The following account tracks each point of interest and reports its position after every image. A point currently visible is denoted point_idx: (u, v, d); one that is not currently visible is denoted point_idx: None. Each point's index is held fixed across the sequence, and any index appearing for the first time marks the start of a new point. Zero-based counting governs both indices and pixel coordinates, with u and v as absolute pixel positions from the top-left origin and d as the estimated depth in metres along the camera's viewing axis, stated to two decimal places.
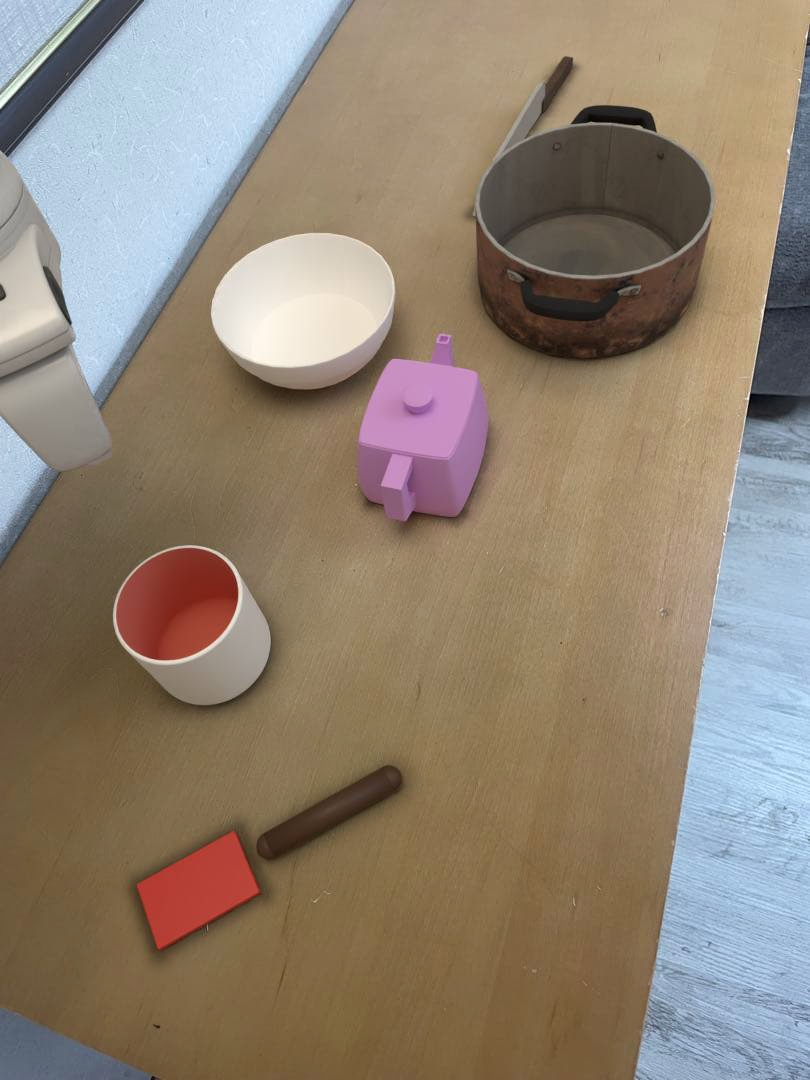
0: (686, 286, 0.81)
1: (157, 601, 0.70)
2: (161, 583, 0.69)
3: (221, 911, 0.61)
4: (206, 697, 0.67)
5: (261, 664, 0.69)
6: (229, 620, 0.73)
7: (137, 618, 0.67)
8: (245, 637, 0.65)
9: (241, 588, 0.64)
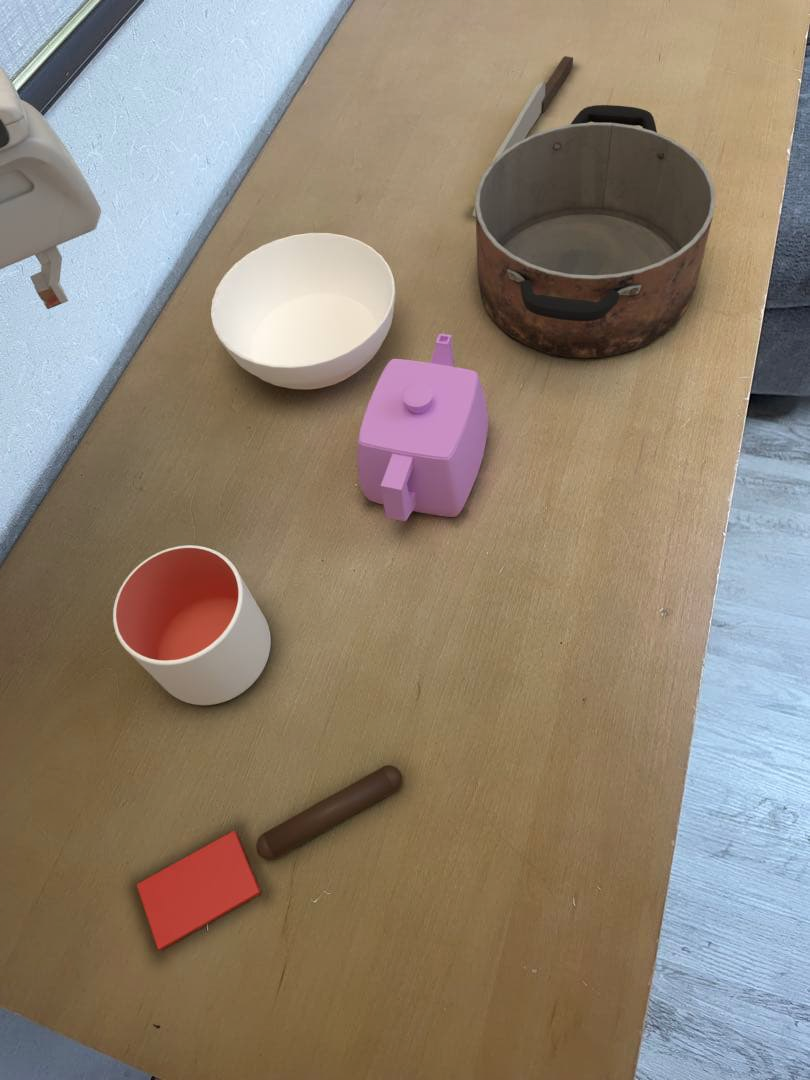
0: (686, 286, 0.80)
1: (157, 601, 0.70)
2: (161, 583, 0.69)
3: (221, 911, 0.61)
4: (206, 697, 0.67)
5: (261, 664, 0.69)
6: (229, 620, 0.73)
7: (137, 618, 0.67)
8: (245, 637, 0.65)
9: (241, 588, 0.64)
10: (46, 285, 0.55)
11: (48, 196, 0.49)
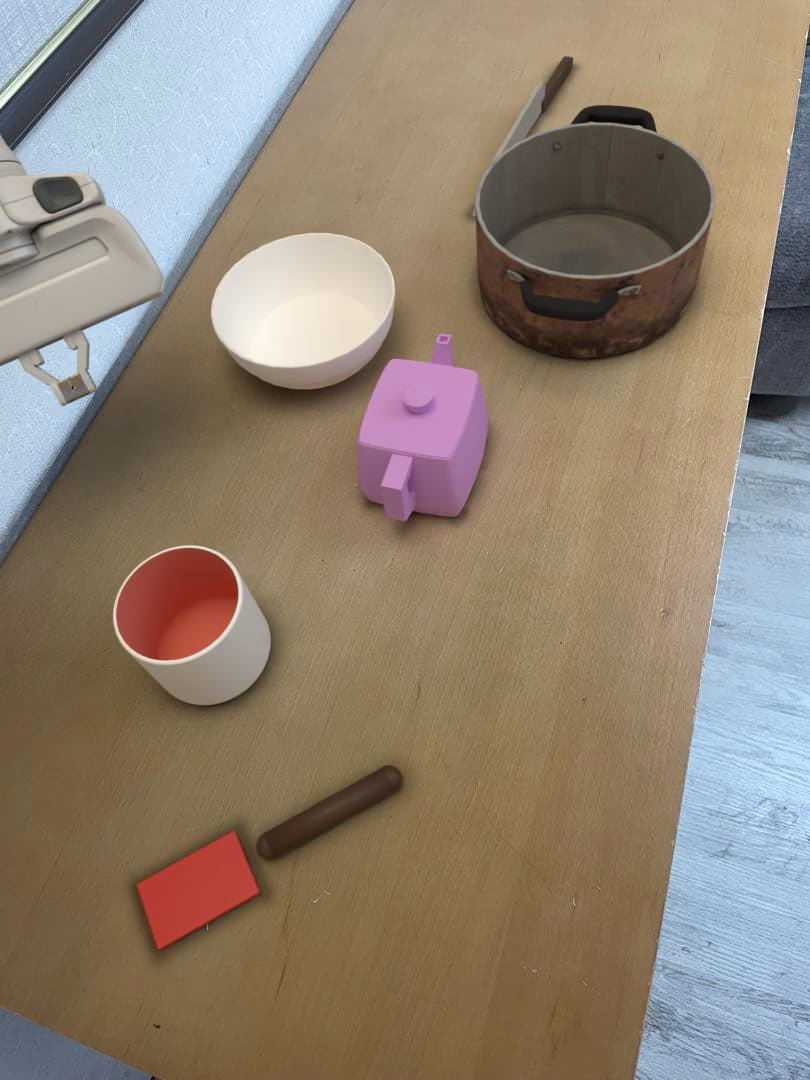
0: (686, 286, 0.80)
1: (157, 601, 0.70)
2: (161, 583, 0.69)
3: (221, 911, 0.61)
4: (206, 697, 0.67)
5: (261, 664, 0.69)
6: (229, 620, 0.73)
7: (137, 618, 0.67)
8: (245, 637, 0.65)
9: (241, 588, 0.64)
10: None
11: (119, 258, 0.64)
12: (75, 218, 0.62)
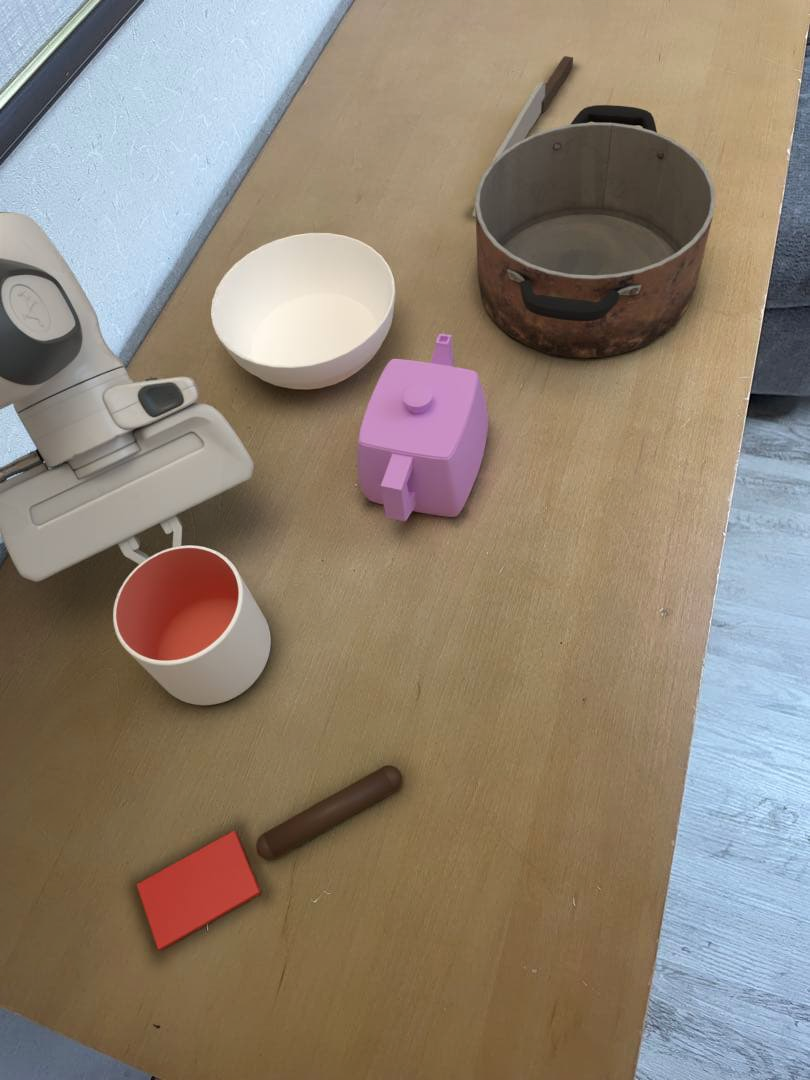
0: (686, 286, 0.80)
1: (157, 601, 0.70)
2: (161, 583, 0.69)
3: (221, 911, 0.61)
4: (206, 697, 0.67)
5: (261, 664, 0.69)
6: (229, 620, 0.73)
7: (137, 618, 0.67)
8: (245, 637, 0.65)
9: (241, 588, 0.64)
10: None
11: (214, 450, 0.68)
12: (175, 418, 0.66)
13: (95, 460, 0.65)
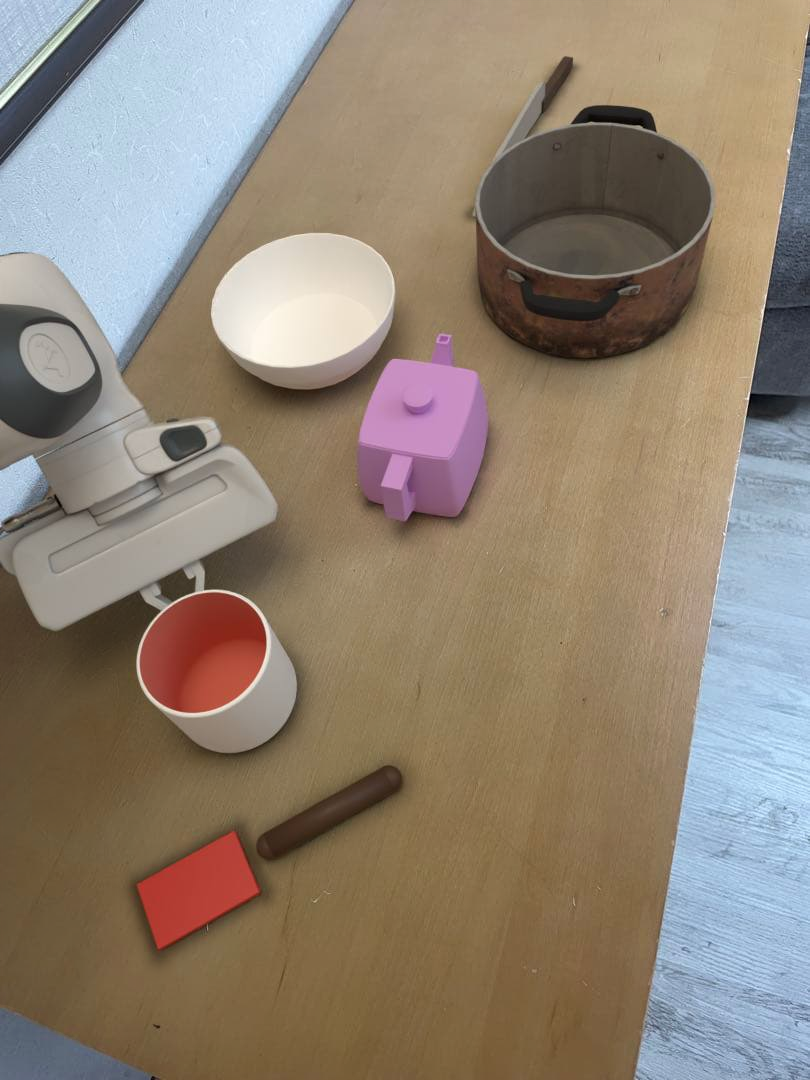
0: (686, 286, 0.80)
1: (178, 646, 0.67)
2: (182, 628, 0.66)
3: (221, 911, 0.61)
4: (234, 745, 0.65)
5: (289, 708, 0.67)
6: (252, 662, 0.71)
7: (159, 666, 0.65)
8: (274, 683, 0.62)
9: (269, 633, 0.61)
10: None
11: (237, 493, 0.66)
12: (198, 462, 0.64)
13: (116, 506, 0.63)
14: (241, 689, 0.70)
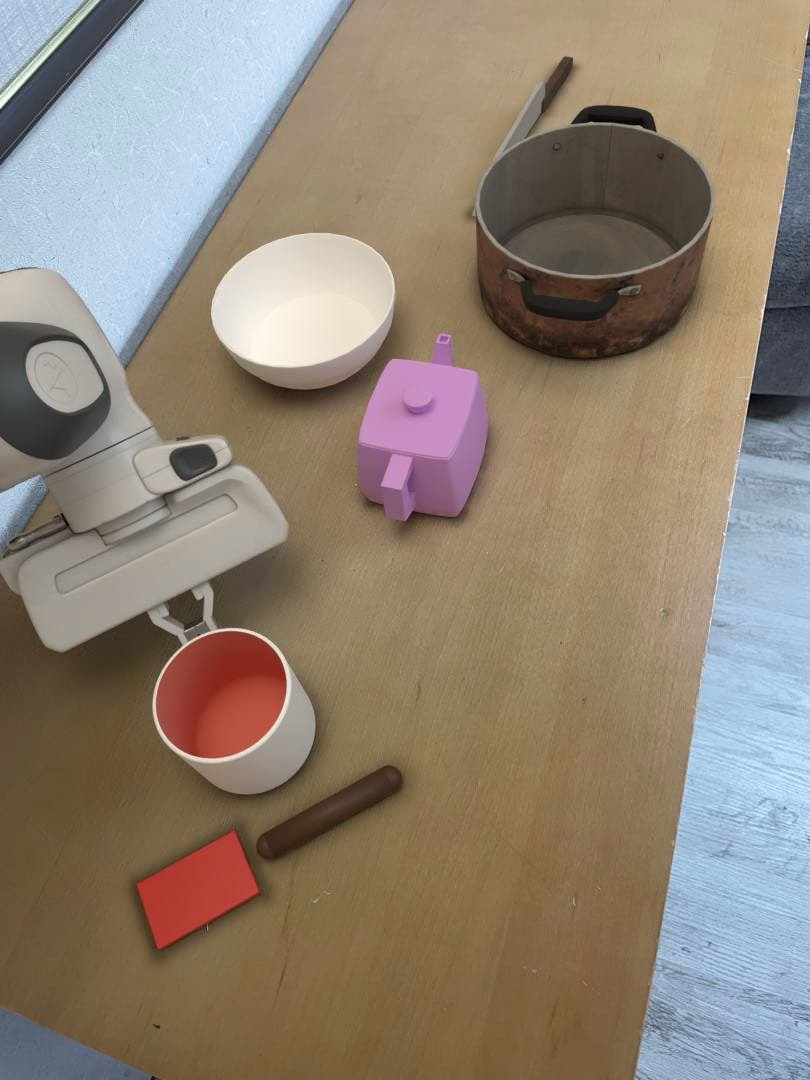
0: (686, 286, 0.80)
1: (194, 684, 0.65)
2: (198, 666, 0.65)
3: (221, 911, 0.61)
4: (252, 788, 0.63)
5: (308, 748, 0.65)
6: (268, 698, 0.69)
7: (175, 706, 0.63)
8: (294, 725, 0.61)
9: (289, 674, 0.60)
10: (202, 621, 0.66)
11: (248, 513, 0.64)
12: (208, 481, 0.62)
13: (124, 526, 0.61)
14: (258, 727, 0.68)
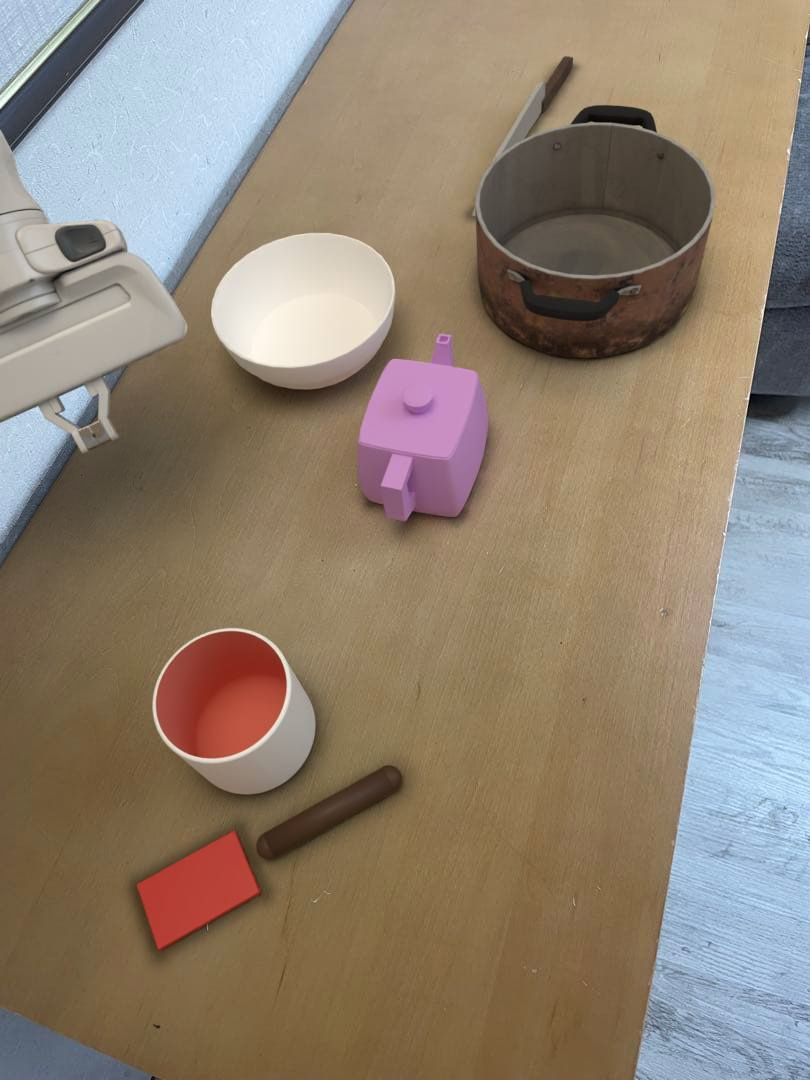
0: (686, 286, 0.80)
1: (194, 684, 0.65)
2: (198, 666, 0.65)
3: (221, 911, 0.61)
4: (252, 788, 0.63)
5: (308, 748, 0.65)
6: (268, 698, 0.69)
7: (175, 706, 0.63)
8: (294, 725, 0.61)
9: (289, 674, 0.60)
10: None
11: (141, 305, 0.63)
12: (97, 266, 0.61)
13: (10, 308, 0.60)
14: (258, 727, 0.68)
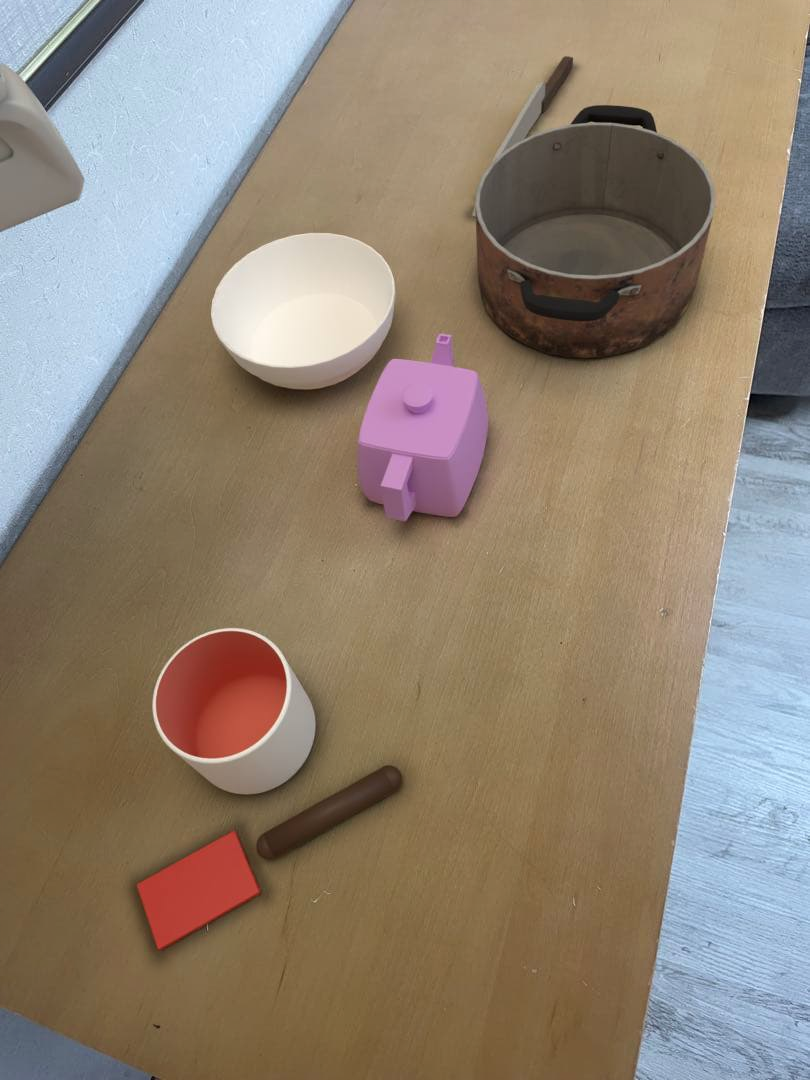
0: (686, 286, 0.80)
1: (194, 684, 0.65)
2: (198, 666, 0.65)
3: (221, 911, 0.61)
4: (252, 788, 0.63)
5: (308, 748, 0.65)
6: (268, 698, 0.69)
7: (175, 706, 0.63)
8: (294, 725, 0.61)
9: (289, 674, 0.60)
10: None
11: (28, 163, 0.48)
12: None
13: None
14: (258, 727, 0.68)
